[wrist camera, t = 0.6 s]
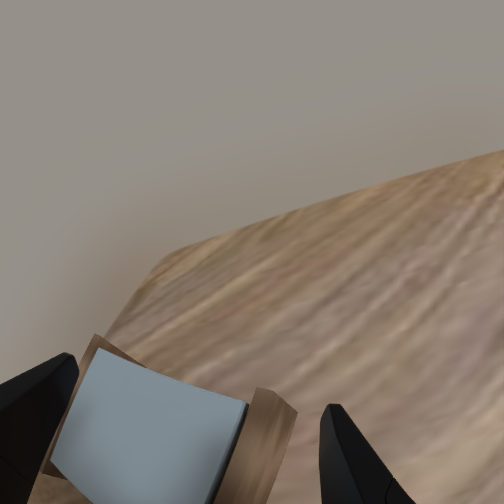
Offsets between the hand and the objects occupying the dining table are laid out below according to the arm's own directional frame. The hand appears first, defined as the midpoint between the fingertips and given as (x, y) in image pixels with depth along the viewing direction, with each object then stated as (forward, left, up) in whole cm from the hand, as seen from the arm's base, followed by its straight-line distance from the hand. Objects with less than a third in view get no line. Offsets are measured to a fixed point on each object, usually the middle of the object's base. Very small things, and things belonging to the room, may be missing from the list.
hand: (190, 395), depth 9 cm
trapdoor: (-5, +8, -12) cm, 16 cm away
